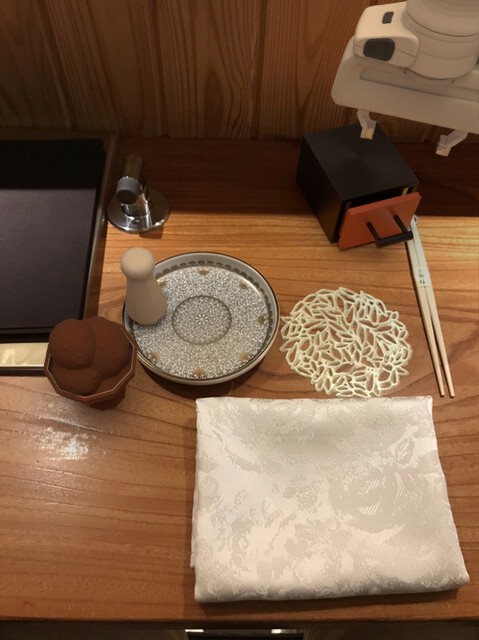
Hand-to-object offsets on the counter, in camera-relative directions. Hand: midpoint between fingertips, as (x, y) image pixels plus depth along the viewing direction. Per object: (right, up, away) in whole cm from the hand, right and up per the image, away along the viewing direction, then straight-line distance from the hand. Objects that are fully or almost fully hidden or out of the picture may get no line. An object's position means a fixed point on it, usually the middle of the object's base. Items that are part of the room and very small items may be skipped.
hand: (403, 143), depth 71 cm
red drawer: (-1, -6, +19) cm, 20 cm away
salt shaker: (-34, -21, +10) cm, 41 cm away
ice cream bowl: (-38, -32, +3) cm, 50 cm away
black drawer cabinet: (-3, -3, +22) cm, 23 cm away
